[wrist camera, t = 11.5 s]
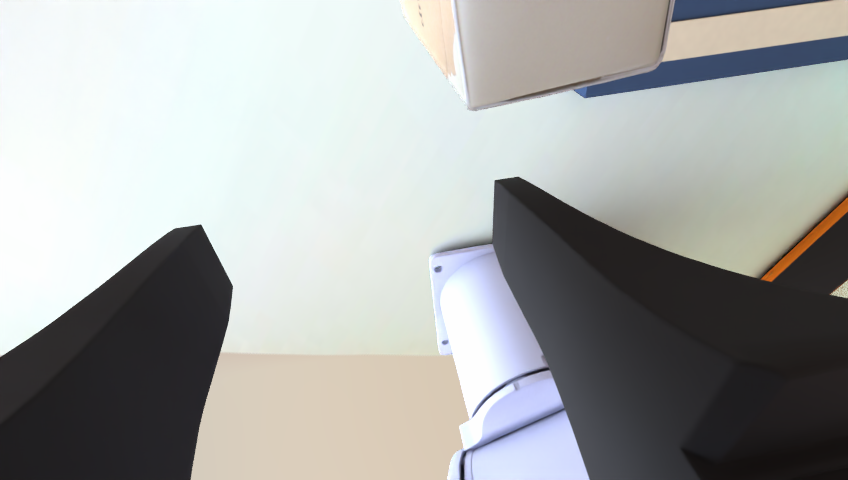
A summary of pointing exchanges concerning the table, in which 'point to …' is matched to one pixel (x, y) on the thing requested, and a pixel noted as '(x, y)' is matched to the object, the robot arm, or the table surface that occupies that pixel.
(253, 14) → the table surface
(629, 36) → the box
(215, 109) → the table surface
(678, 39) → the towel
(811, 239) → the smartphone
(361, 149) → the table surface
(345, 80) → the table surface
